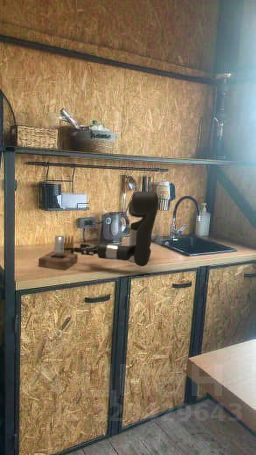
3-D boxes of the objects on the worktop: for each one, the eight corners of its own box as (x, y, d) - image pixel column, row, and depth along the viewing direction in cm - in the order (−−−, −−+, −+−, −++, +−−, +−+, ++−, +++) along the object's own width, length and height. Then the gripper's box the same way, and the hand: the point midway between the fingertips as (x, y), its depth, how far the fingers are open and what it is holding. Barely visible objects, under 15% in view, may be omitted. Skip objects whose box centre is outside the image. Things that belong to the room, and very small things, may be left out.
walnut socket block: (52, 258, 194) (52, 251, 193) (77, 261, 191) (77, 254, 191) (38, 266, 179) (38, 258, 178) (65, 270, 176) (65, 262, 175)
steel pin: (56, 262, 188) (57, 235, 185) (64, 263, 187) (65, 236, 184) (52, 264, 183) (53, 237, 181) (61, 265, 182) (62, 238, 180)
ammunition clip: (72, 256, 202) (73, 234, 200) (73, 256, 201) (74, 235, 198) (53, 257, 198) (54, 235, 195) (54, 258, 196) (55, 235, 194)
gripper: (113, 240, 184) (82, 237, 188) (105, 246, 171) (72, 243, 174) (112, 255, 186) (81, 251, 189) (104, 262, 172) (71, 258, 175)
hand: (77, 247), depth 182 cm, fingers open, 8 cm apart
